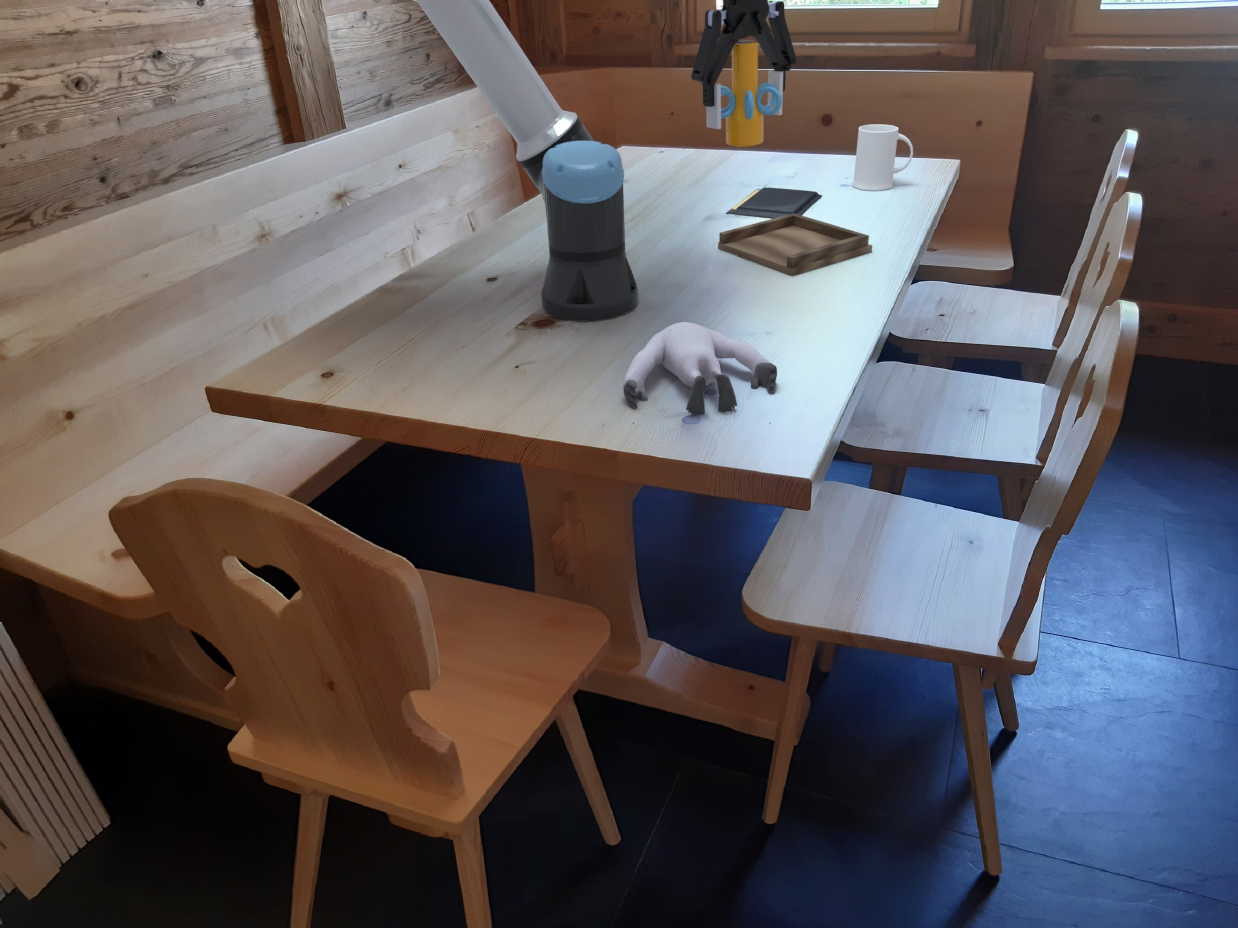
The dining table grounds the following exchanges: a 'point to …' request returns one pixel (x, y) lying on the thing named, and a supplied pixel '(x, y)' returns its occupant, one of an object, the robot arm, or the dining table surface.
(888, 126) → the mug
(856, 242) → the open-sided tray
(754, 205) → the wallet
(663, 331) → the yeti figurine
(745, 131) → the cylinder
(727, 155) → the dining table surface
